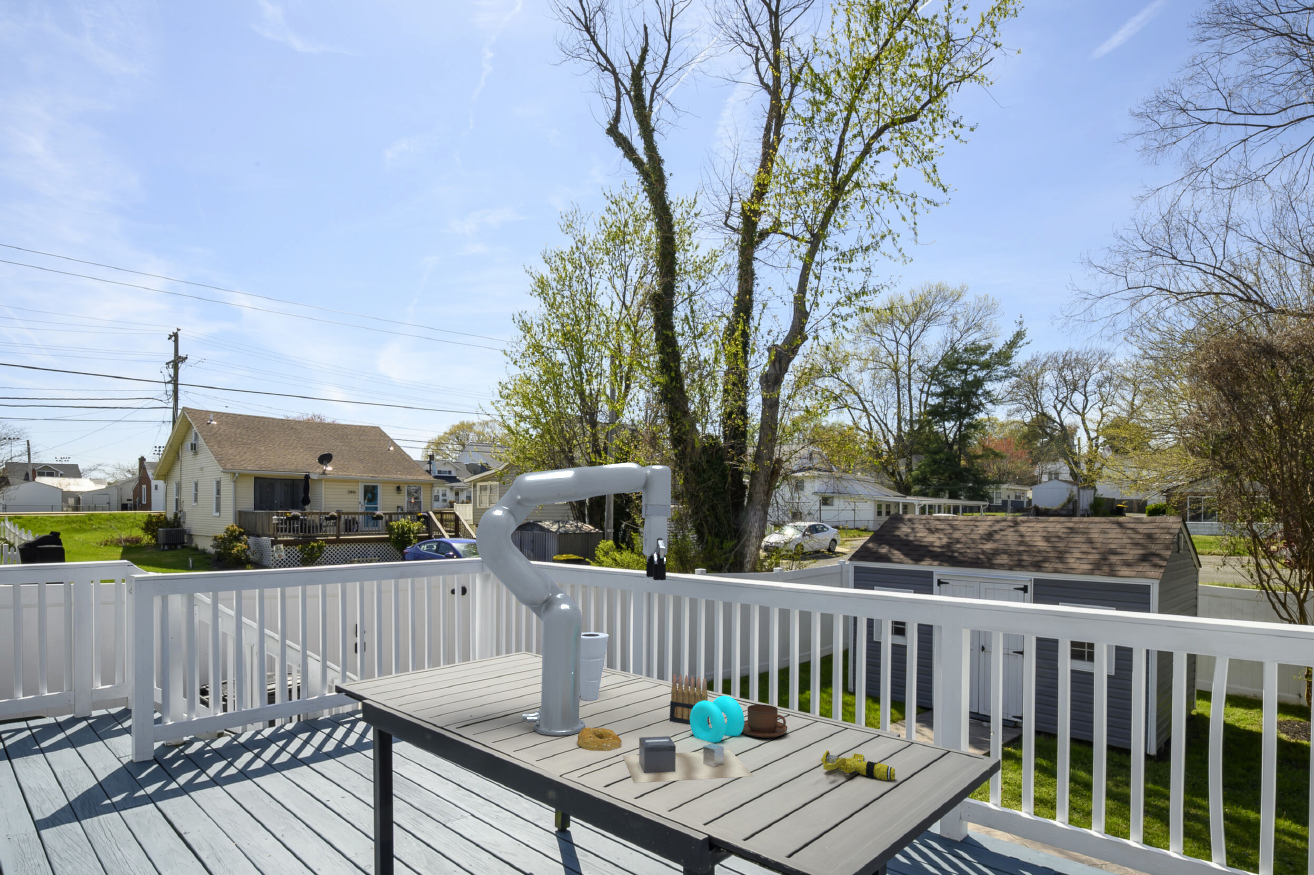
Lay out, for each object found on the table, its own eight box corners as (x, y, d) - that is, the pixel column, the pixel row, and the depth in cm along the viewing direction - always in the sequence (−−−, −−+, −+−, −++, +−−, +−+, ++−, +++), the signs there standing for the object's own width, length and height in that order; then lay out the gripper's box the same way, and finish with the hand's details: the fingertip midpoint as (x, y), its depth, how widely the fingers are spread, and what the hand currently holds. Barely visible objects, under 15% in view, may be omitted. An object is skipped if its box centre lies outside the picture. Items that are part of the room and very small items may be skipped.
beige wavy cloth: (633, 790, 136) (633, 782, 137) (622, 763, 152) (622, 755, 152) (753, 783, 141) (753, 775, 141) (730, 757, 156) (730, 750, 157)
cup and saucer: (789, 729, 179) (789, 704, 179) (785, 743, 167) (784, 716, 168) (742, 725, 182) (742, 700, 182) (734, 739, 170) (734, 712, 171)
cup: (566, 696, 209) (567, 633, 211) (600, 692, 213) (601, 631, 216) (577, 704, 199) (579, 639, 201) (613, 701, 204) (614, 636, 206)
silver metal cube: (714, 767, 146) (714, 749, 146) (703, 763, 148) (703, 746, 148) (723, 763, 148) (723, 746, 148) (712, 760, 150) (712, 743, 150)
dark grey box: (644, 773, 142) (644, 746, 142) (639, 762, 148) (639, 736, 149) (675, 771, 143) (675, 744, 144) (669, 760, 149) (669, 735, 150)
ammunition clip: (709, 725, 180) (709, 677, 182) (706, 727, 179) (706, 678, 180) (672, 719, 186) (673, 672, 187) (669, 721, 184) (669, 673, 186)
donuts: (687, 741, 167) (687, 697, 168) (714, 733, 174) (715, 691, 175) (719, 751, 160) (719, 706, 161) (747, 742, 167) (746, 698, 168)
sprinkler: (887, 769, 137) (811, 755, 144) (886, 792, 136) (810, 776, 143) (903, 755, 153) (834, 743, 160) (903, 775, 153) (834, 762, 160)
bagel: (593, 762, 153) (593, 739, 153) (568, 749, 162) (568, 727, 162) (631, 754, 159) (631, 732, 159) (605, 741, 167) (605, 720, 168)
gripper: (637, 512, 194) (636, 575, 193) (648, 511, 178) (647, 581, 176) (663, 512, 196) (663, 575, 194) (677, 512, 179) (677, 581, 177)
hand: (655, 578), depth 185 cm, fingers open, 9 cm apart
